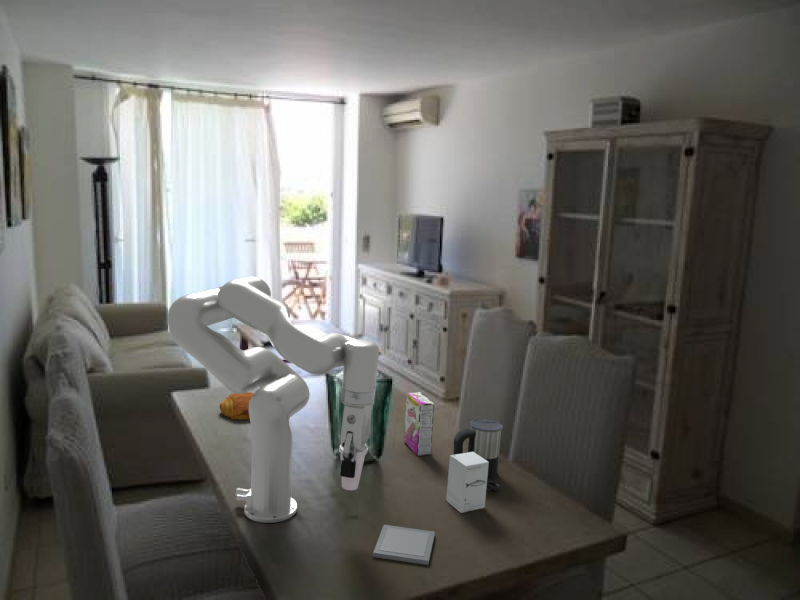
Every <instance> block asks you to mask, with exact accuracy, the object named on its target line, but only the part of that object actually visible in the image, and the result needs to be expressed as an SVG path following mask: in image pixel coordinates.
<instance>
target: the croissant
mask: <svg viewBox="0 0 800 600" xmlns="http://www.w3.org/2000/svg"><path fill="white" fill-rule="evenodd" d="M254 393H255V392H251V391H249V392H246V393H243V394H236V393H231V394H229V395H228V396H227V397H225V398H224V400H222V401H221V402H220V405H219V411H220V413H221V414H222V415H223V416H224V417H227V418H230V420H232V421H233V420H236V421H244V420H245V421H246V420H248V421H249V420H250V417H249V402H250V400H251V398H252V396H253V394H254Z"/></svg>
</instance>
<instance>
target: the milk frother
mask: <svg viewBox="0 0 800 600" xmlns="http://www.w3.org/2000/svg"><path fill="white" fill-rule="evenodd" d="M469 424H470V428H464V429H462V430H460V431H458V432H457V433H456V434H455V436H454V438H453V455H456V454H462V453H464V452H463V451H464V442H465V441H466V440H467V439H468V442H467V443H468V444H467V453H468V452H474V453H476V454H477V455H479V456H481V457H482V458H484V459H485V460H487V461H488V462H489V465H488V476H487V487H486V489H487V490H489V491H491V492H494V491H499V490H500V484H497V482H496V481H495V479H496V478H498V477H499V472H498V468H499V467H498V466H499V457H500V455H499V454H500V445H501V437H502V436H501V434H502V429H503V425H502V423H500V422H498V421H497V420H496V421H495V420H492V419H486V418H476V419H473V420H471V421H470V422H469Z"/></svg>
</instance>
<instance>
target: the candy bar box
mask: <svg viewBox="0 0 800 600" xmlns="http://www.w3.org/2000/svg"><path fill="white" fill-rule="evenodd" d="M405 398H406V399H405V417H404V418H405V420H404V421H405V422H404V433H403V434H404V436H403V437H404V438H403V442H404V444H406V446H407V447H408V448H409V449H410V450H411V451H412V452H413V453H414V454H415V455H416V456H417V457H421V456H428V455H431V454H432V446H433V428H434V413H435V403H434V402H433V401H432V400H430V399H429V398H428V397H427V396H425V395H424V394H423V393H422V392H421V391H418V392H416V391H413V392H407V393H406V397H405Z"/></svg>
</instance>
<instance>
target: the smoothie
mask: <svg viewBox="0 0 800 600" xmlns="http://www.w3.org/2000/svg"><path fill="white" fill-rule="evenodd" d="M351 447H355V446H354V445H353V444H351ZM343 449H344V447H342V446H341V444H340V445H339V449H338V450H339V451H338V452H339V453H340V462H341V461H342V455H343ZM350 453H352V454H353V450H350ZM367 453H368V446H366V444H365V445H364V447H363V449H361V450H358V449H357V450H356V456H355V461H356V468H355V477H354V478H348V477H342V476H341V475H340V477H341V488H342V489H344V490H346V491H355V490H357V489H358V488H359V484H360V479H361V475H362V470H363V466H364V461H365V457H366V455H367Z"/></svg>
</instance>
